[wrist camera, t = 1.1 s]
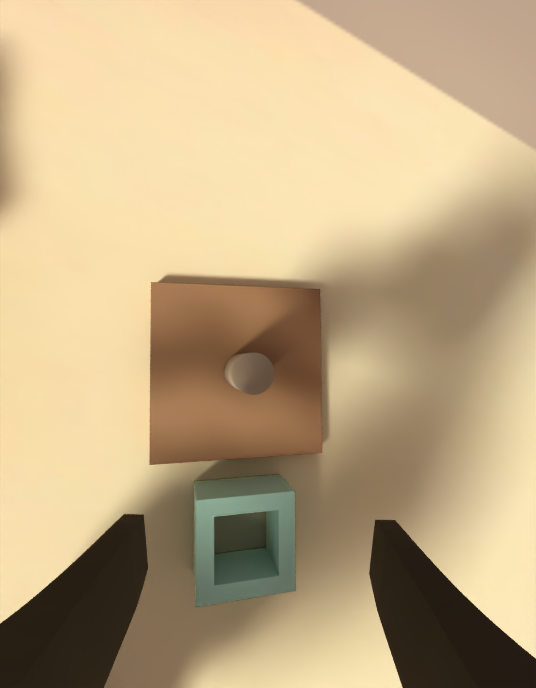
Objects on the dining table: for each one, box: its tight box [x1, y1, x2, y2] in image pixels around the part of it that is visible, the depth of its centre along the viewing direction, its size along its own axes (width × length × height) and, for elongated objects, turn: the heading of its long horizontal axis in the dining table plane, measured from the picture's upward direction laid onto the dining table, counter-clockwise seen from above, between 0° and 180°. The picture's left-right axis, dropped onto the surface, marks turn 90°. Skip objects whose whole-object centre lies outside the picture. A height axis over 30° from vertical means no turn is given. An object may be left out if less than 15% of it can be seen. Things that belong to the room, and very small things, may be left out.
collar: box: [194, 474, 296, 607], centre depth 20 cm, size 5×5×3 cm
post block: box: [150, 282, 322, 465], centre depth 20 cm, size 10×10×5 cm
